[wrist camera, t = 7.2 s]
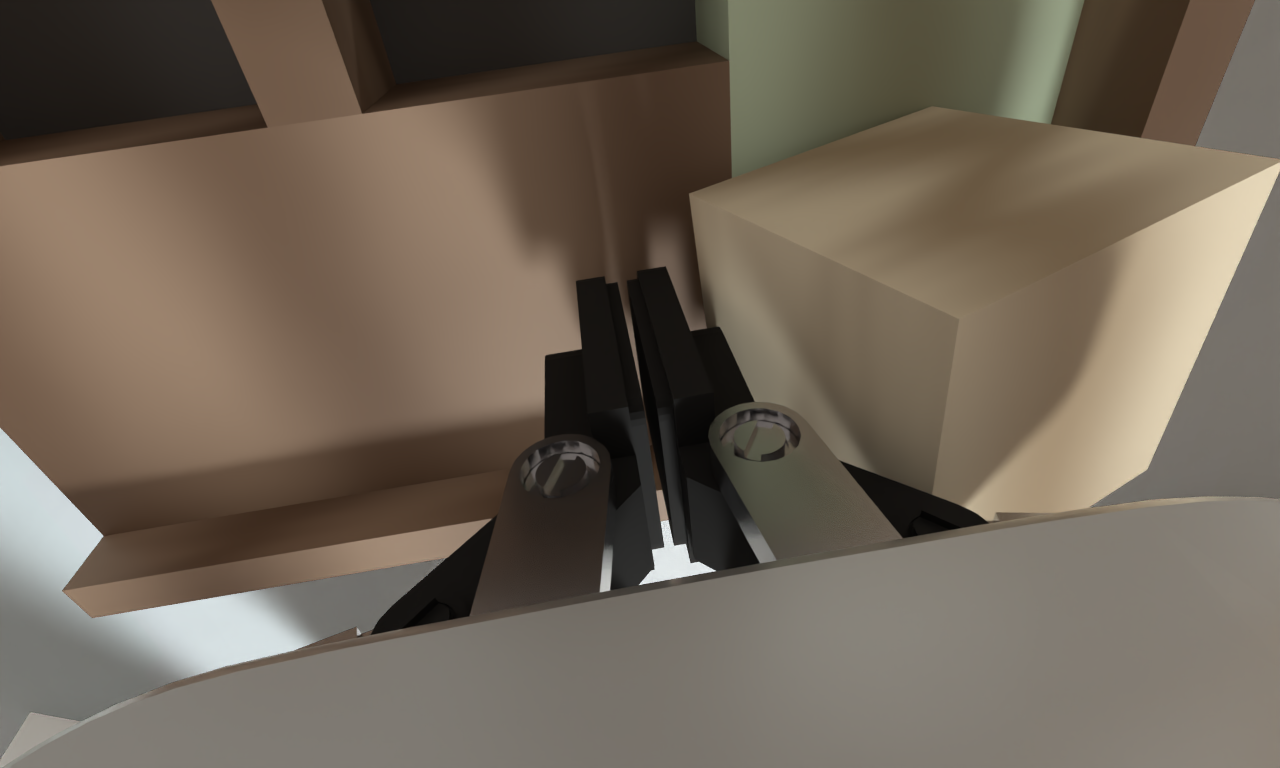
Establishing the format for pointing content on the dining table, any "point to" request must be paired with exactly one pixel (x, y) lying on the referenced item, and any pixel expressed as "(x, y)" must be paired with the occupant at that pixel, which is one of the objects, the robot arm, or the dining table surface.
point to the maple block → (979, 297)
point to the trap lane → (426, 230)
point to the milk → (34, 734)
